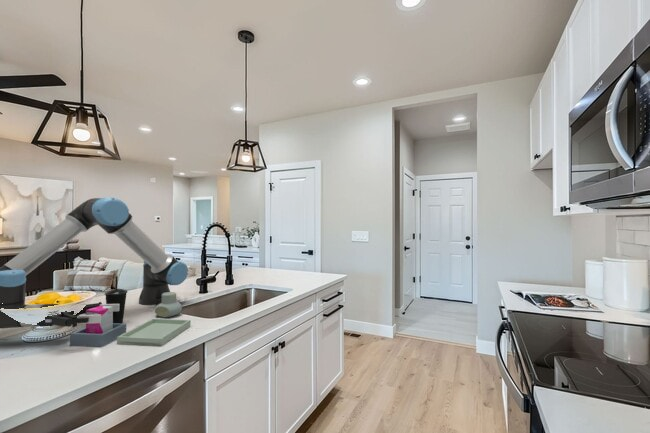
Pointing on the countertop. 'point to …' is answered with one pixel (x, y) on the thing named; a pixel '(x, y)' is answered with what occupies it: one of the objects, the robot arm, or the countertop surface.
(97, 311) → the supplement box
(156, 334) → the tray
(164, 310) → the grey knobbed rounded piece
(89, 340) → the grey storage bin
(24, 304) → the robot arm
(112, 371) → the countertop surface
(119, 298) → the drinking cup
